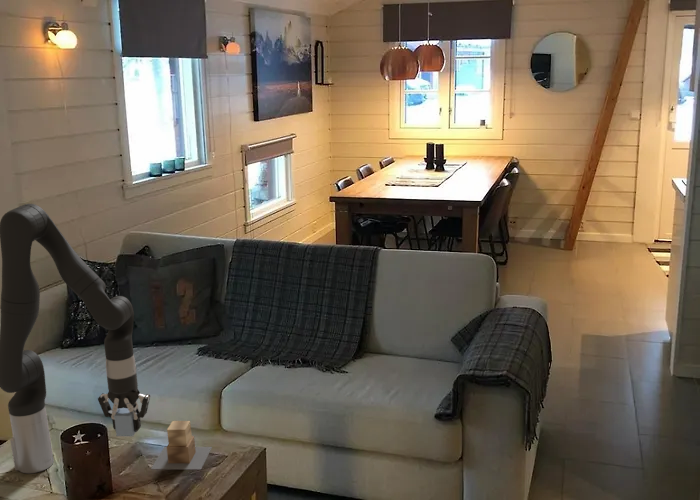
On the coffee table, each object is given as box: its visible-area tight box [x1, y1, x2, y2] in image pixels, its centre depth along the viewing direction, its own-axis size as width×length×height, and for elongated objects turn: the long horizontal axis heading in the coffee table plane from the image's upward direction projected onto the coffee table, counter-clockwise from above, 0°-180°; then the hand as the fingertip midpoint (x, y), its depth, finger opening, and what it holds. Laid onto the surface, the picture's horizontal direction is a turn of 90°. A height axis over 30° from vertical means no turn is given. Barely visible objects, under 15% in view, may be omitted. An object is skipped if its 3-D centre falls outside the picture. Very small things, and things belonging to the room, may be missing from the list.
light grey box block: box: [114, 408, 137, 437], centre depth 200 cm, size 4×4×6 cm
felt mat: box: [150, 446, 213, 471], centre depth 208 cm, size 14×12×1 cm
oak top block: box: [167, 420, 193, 446], centre depth 206 cm, size 5×5×5 cm
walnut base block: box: [166, 435, 196, 463], centre depth 208 cm, size 6×6×5 cm
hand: (127, 430), depth 201 cm, fingers closed on light grey box block, 4 cm apart
